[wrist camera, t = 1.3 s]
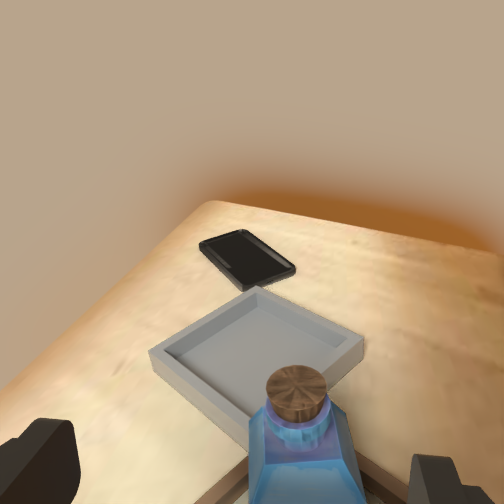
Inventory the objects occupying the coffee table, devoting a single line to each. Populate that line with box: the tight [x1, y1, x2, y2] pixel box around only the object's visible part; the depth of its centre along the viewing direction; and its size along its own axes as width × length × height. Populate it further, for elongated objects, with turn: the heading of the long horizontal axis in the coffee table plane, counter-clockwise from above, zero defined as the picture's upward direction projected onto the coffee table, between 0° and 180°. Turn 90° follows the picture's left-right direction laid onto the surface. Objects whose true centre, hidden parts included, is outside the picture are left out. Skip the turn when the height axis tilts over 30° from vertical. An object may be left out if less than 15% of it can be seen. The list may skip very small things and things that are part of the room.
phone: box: [199, 229, 296, 292], centre depth 60 cm, size 8×1×15 cm
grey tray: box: [148, 286, 364, 453], centre depth 42 cm, size 14×14×2 cm
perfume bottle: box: [249, 365, 367, 504], centre depth 26 cm, size 6×6×12 cm
